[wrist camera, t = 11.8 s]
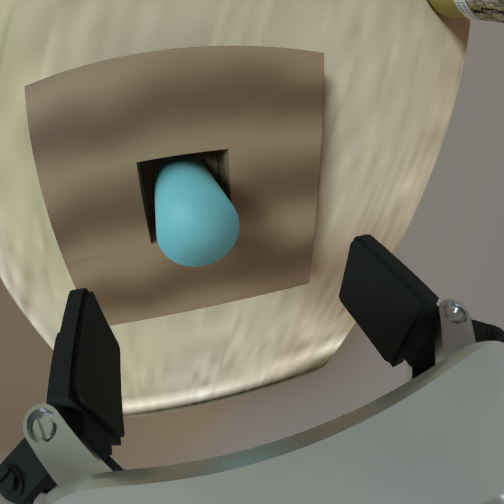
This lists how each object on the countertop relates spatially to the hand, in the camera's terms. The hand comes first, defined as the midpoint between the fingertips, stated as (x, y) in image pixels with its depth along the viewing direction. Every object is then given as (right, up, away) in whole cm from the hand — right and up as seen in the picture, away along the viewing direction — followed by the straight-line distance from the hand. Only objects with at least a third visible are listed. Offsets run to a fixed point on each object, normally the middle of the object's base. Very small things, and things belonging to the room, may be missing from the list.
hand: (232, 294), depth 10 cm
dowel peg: (-5, +7, +12) cm, 15 cm away
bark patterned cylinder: (+23, +33, +7) cm, 41 cm away
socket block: (-5, +7, +12) cm, 15 cm away
